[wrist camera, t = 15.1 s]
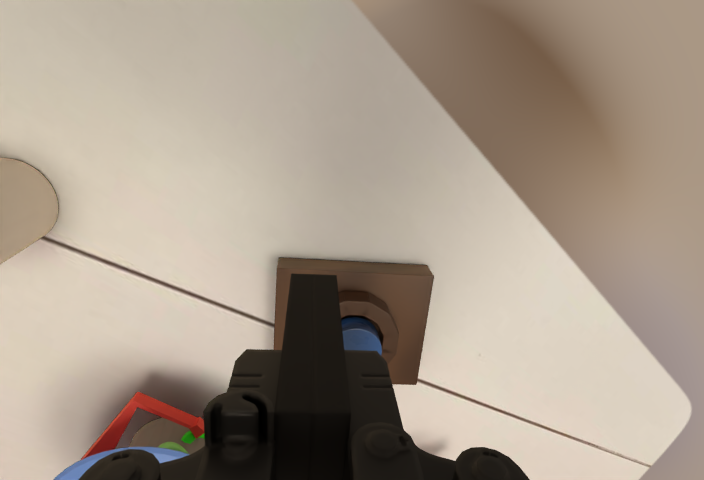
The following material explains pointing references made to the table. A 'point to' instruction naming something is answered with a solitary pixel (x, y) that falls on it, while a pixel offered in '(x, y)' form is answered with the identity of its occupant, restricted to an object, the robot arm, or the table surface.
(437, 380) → the table surface
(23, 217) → the mug
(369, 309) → the button block
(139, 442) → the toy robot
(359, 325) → the button
